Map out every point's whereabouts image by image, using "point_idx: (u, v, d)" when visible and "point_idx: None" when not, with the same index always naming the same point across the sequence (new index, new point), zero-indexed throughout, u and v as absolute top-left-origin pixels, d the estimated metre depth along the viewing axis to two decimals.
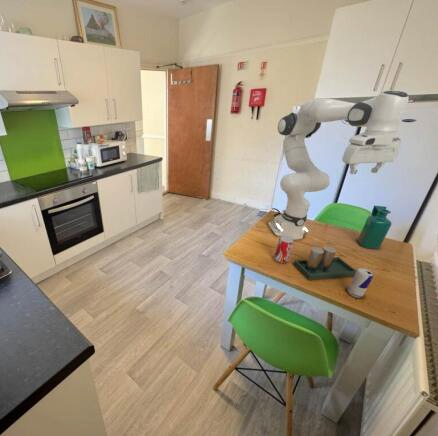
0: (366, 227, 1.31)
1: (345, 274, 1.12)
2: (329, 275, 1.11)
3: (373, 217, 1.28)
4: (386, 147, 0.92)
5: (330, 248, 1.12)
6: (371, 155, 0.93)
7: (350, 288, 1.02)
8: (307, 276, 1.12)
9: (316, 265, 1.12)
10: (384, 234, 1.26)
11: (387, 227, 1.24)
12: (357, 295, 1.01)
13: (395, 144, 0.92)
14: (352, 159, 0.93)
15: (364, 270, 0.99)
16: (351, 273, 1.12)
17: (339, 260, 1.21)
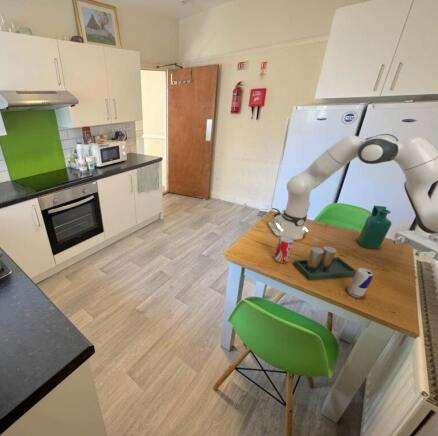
0: (366, 227, 1.31)
1: (345, 274, 1.12)
2: (329, 275, 1.11)
3: (373, 217, 1.28)
4: None
5: (330, 248, 1.12)
6: None
7: (350, 288, 1.02)
8: (307, 276, 1.12)
9: (316, 265, 1.12)
10: (384, 234, 1.26)
11: (387, 227, 1.24)
12: (357, 295, 1.01)
13: None
14: None
15: (364, 270, 0.99)
16: (351, 273, 1.12)
17: (339, 260, 1.21)
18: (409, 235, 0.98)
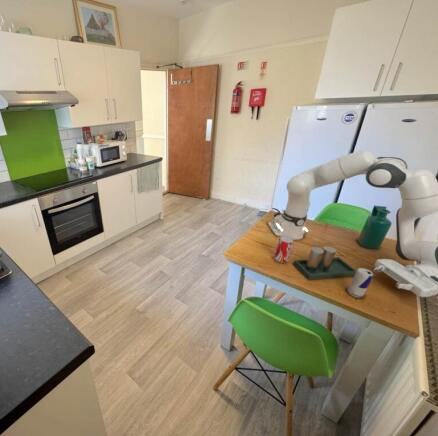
0: (366, 227, 1.31)
1: (345, 274, 1.12)
2: (329, 275, 1.11)
3: (373, 217, 1.28)
4: None
5: (330, 248, 1.12)
6: None
7: (350, 288, 1.02)
8: (307, 276, 1.12)
9: (316, 265, 1.12)
10: (384, 234, 1.26)
11: (387, 227, 1.24)
12: (357, 295, 1.01)
13: None
14: None
15: (364, 270, 0.99)
16: (351, 273, 1.12)
17: (339, 260, 1.21)
18: (389, 265, 1.05)
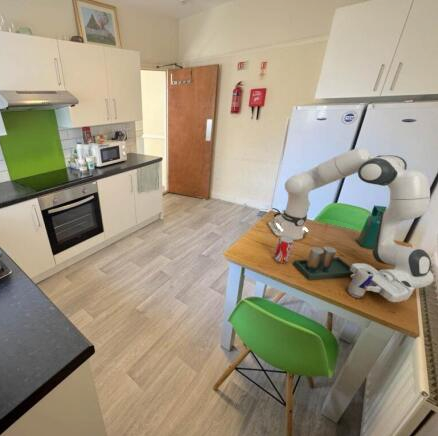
0: (366, 227, 1.31)
1: (345, 274, 1.12)
2: (329, 275, 1.11)
3: (373, 217, 1.28)
4: None
5: (330, 248, 1.12)
6: None
7: (350, 288, 1.02)
8: (307, 276, 1.12)
9: (316, 265, 1.12)
10: None
11: None
12: (357, 295, 1.01)
13: None
14: None
15: (364, 270, 0.99)
16: (351, 273, 1.12)
17: (339, 260, 1.21)
18: None
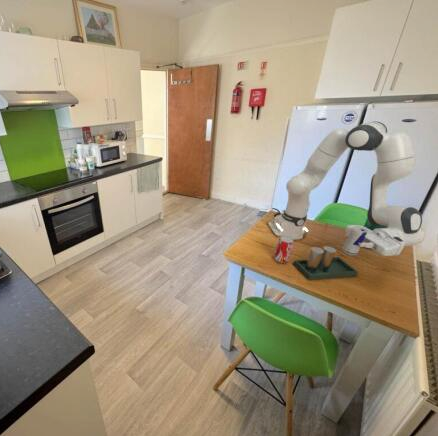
0: (366, 227, 1.31)
1: (345, 274, 1.12)
2: (329, 275, 1.11)
3: None
4: None
5: (330, 248, 1.12)
6: None
7: (345, 247, 1.07)
8: (307, 276, 1.12)
9: (316, 265, 1.12)
10: None
11: None
12: (351, 253, 1.05)
13: None
14: None
15: (358, 228, 1.03)
16: (351, 273, 1.12)
17: (339, 260, 1.21)
18: None
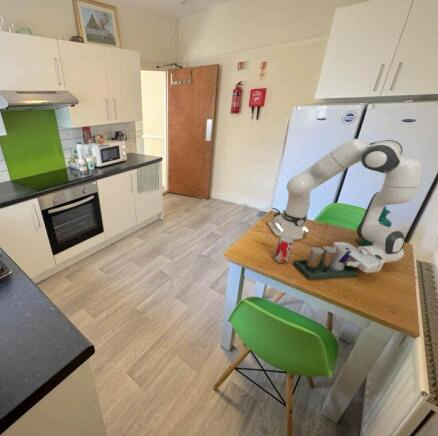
0: None
1: (345, 274, 1.12)
2: (329, 275, 1.11)
3: None
4: None
5: (330, 248, 1.12)
6: None
7: (331, 263, 1.17)
8: (307, 276, 1.12)
9: (316, 265, 1.12)
10: None
11: None
12: (337, 269, 1.15)
13: None
14: None
15: (343, 247, 1.13)
16: (351, 273, 1.12)
17: None
18: None
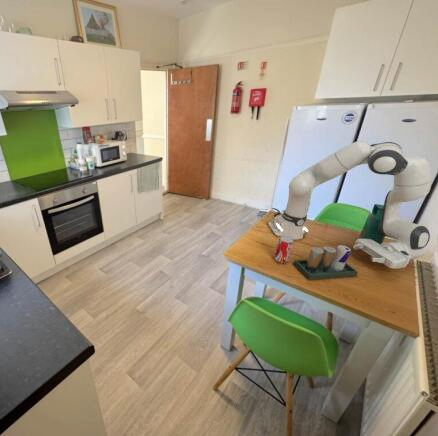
0: (367, 224, 1.32)
1: (345, 274, 1.12)
2: (329, 275, 1.11)
3: (374, 214, 1.29)
4: None
5: (330, 248, 1.12)
6: None
7: (331, 263, 1.17)
8: (307, 276, 1.12)
9: (316, 265, 1.12)
10: None
11: None
12: (337, 269, 1.15)
13: None
14: None
15: (343, 247, 1.13)
16: (351, 273, 1.12)
17: None
18: (366, 243, 1.18)
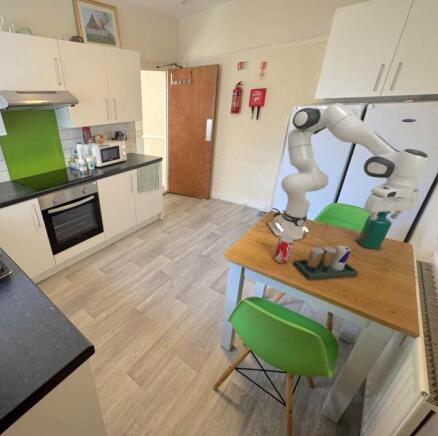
0: (366, 227, 1.31)
1: (345, 274, 1.12)
2: (329, 275, 1.11)
3: None
4: (405, 198, 1.00)
5: (330, 248, 1.12)
6: (391, 205, 1.01)
7: (331, 263, 1.17)
8: (307, 276, 1.12)
9: (316, 265, 1.12)
10: (384, 234, 1.26)
11: (387, 227, 1.24)
12: (337, 269, 1.15)
13: (414, 195, 0.99)
14: (374, 208, 1.00)
15: (343, 247, 1.13)
16: (351, 273, 1.12)
17: None
18: None
